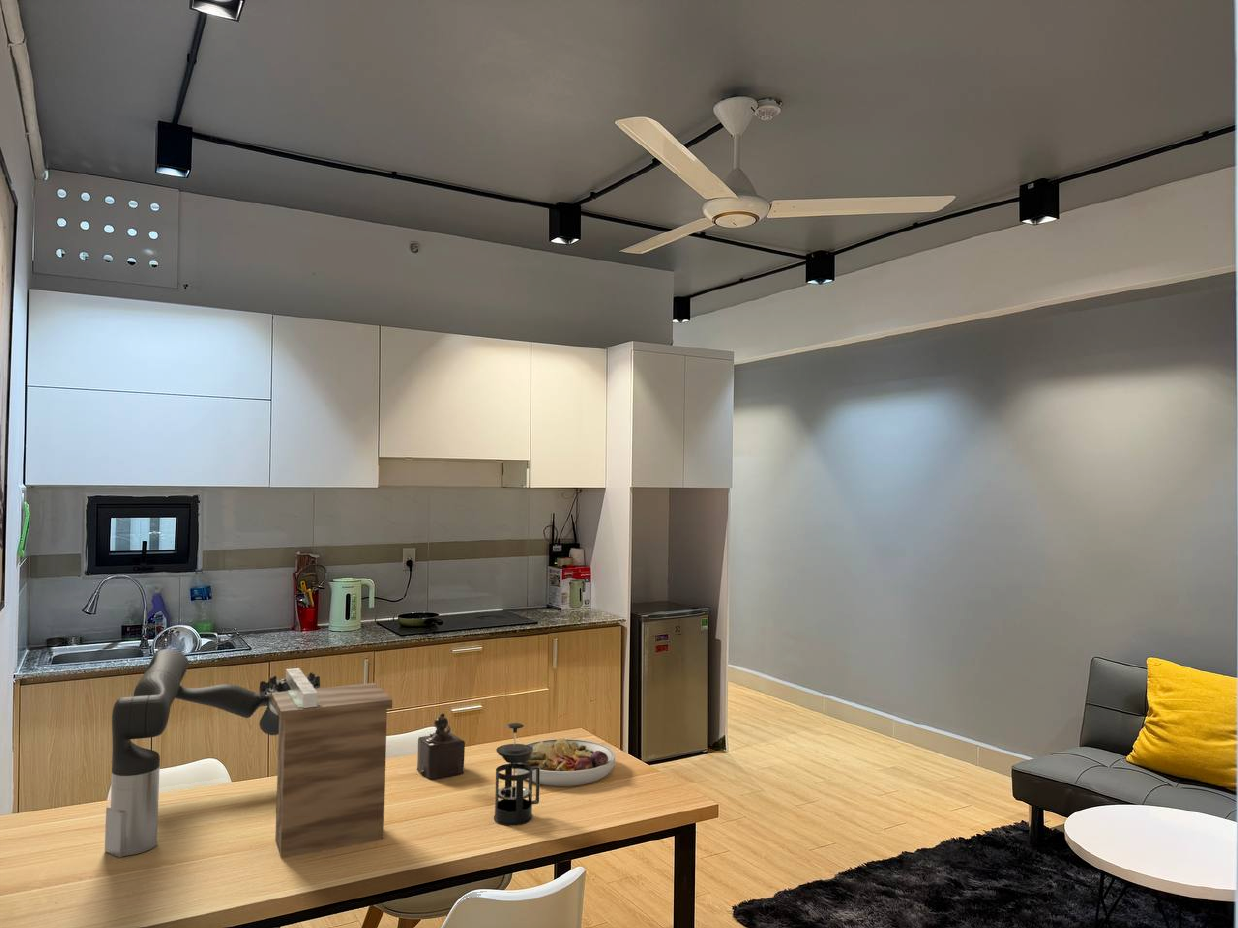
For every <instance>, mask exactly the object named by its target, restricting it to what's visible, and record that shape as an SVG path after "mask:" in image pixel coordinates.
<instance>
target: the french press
mask: <svg viewBox="0 0 1238 928" xmlns="http://www.w3.org/2000/svg"><path fill="white" fill-rule="evenodd" d="M523 727H525V725H524V724H523V723H519V722H512V723H509V724H507V725H506V728H509V729H512V731H513V733H514V735H513V739H514V740H513V743H509V744H504V745H500V746H498V747H497V748H496V753H497V754H498V755H499V756H501V758H503V760H504V761H505V762H506V763H505V764H500V765H499V766H497V767H496V768H495V795H494V797H495V802H494V803H495V806H494V815H493V820H494V822H495V823H497V824H499V825H502V826H508V827H515V826H521V825H525V824H526V825H527V824H528V823H530V822H531V821H532V820H533V814H532V811H533V810H532V809H533V808H532V806H533V805H538V804H539V802H540V784H539V775H540V769H539V768H538V767H537V766H533V767H531V766H529V765H526V764H520V763H523V762H526V761H528V760H530V759H531V752H532V751H533V748H532V747H531V746H528V745H525V744H524V743H517V741H516V740H517V739H516V738H517V737H516V736H517V732H518V729H522V728H523ZM515 769H524V770H528V771H529V772H528V773H526V774H522V775H518V774H516V771H515ZM532 770H536V783H535V799H534V800H532V799H533V798H532V797H533V794H532V792H533V790H532V789H533V782H532ZM502 771H504V773H500V772H502ZM528 778H529V781H528V787H526V786H524V781H525V780H526V779H528ZM499 780H502V781H504V787H501V788H499V787H500V786H499V785H500V783H499V782H500V781H499ZM512 783H513V784H512ZM515 783H516V784H515ZM527 798H528V799H527ZM499 799H501V800H499Z"/></svg>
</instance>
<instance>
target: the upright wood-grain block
mask: <svg viewBox="0 0 1238 928" xmlns="http://www.w3.org/2000/svg"><path fill="white" fill-rule="evenodd" d="M315 690H316V691H317V692H318V704H317V707H308V708H303V707H302V706H301V704H300V702H299V701H298V699H297V698H296V696H295V695H294V693H293V691H292V690H287V691H285V692H275V693H271V702H272V704H273V706H274V708H275V710H276V712H277V714H278V716H279V734H278V739H277V741H278V742H277V744H278V745H277V747H278V748H277V773H276V774H277V777H276V808H275V809H276V810H275V811H276V812H275V840H274V841H275V843H276V846H277V849H278V852H279V856H280V858H281V859H282V857H283V858H288V857H287V856H289V857H292V856H293V855H294V856H298V855H303V854H310V853H315V852H320V851H325V850H332V849H337V848H341V847H347V846H354V845H358V844H363V843H369V842H374V841H380V840H384V826H385V825H384V824H385V820H384V819H385V791H386V788H385V785H386V784H385V783H386V756H387V754H386V753H387V752H386V751H387V750H386V748H387V747H386V746H387V745H386V743H387V717H388V716H387V714H388V712H387V711H388V709H389V710H390V709H392V708H393V699H392V697H390V696H389V695H388V694H387V693H386V692H385V691H384V690H383V689H382V688H381V687H380V686H378V685H377V683H376V682H371V683H363V684H361V683H359V684H350V685H339V686H338V685H337V686H328V687H320V688H316V689H315Z"/></svg>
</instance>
